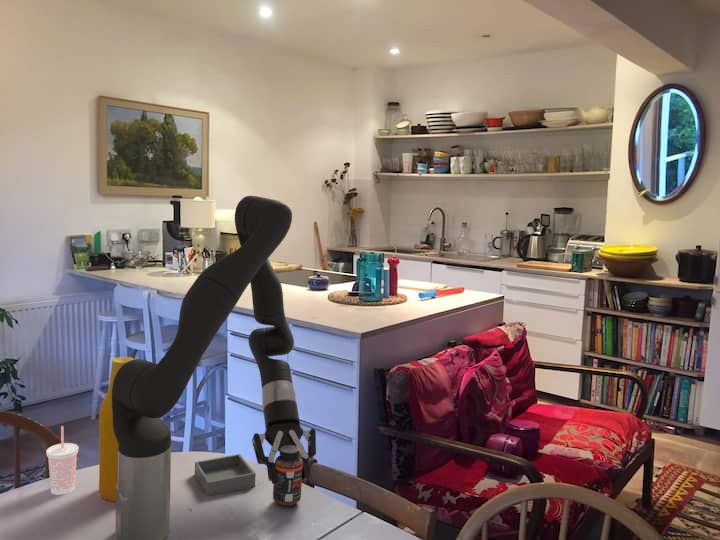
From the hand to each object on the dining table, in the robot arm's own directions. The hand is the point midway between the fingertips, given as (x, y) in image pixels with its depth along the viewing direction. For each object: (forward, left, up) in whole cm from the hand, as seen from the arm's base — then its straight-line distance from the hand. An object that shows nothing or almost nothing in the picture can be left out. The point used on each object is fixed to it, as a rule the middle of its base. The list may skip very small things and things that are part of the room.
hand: (290, 480), depth 124 cm
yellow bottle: (-30, +21, -6) cm, 37 cm away
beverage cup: (-41, +27, -6) cm, 49 cm away
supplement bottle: (0, +2, -5) cm, 6 cm away
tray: (-9, +17, -6) cm, 20 cm away
